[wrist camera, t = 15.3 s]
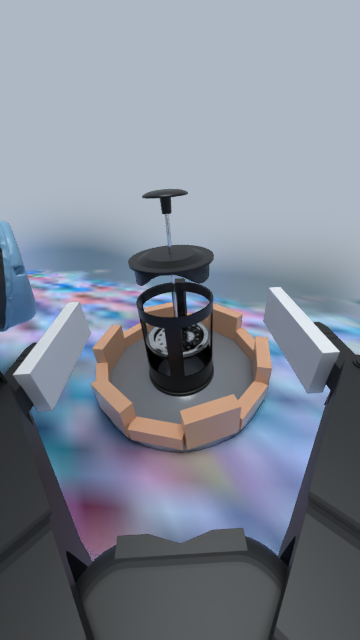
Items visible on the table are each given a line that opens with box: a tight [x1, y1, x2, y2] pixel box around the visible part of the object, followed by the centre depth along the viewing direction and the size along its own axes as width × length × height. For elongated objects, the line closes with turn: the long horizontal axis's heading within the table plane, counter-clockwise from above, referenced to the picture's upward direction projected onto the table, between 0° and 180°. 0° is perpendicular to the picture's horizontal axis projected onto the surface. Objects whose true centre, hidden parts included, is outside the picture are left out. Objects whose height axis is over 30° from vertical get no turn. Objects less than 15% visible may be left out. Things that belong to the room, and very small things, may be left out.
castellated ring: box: [91, 302, 272, 452], centre depth 33 cm, size 24×24×6 cm
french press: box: [128, 189, 214, 397], centre depth 27 cm, size 12×9×23 cm
